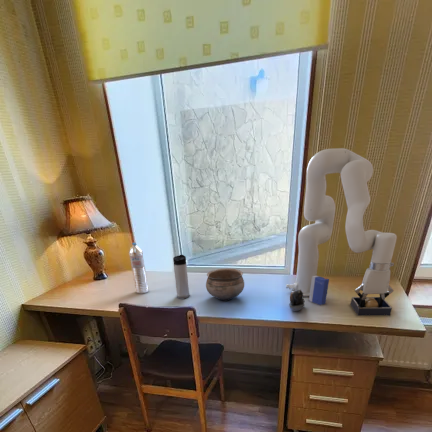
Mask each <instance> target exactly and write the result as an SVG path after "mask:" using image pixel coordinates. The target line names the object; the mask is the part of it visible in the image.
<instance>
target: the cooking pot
mask: <svg viewBox="0 0 432 432" xmlns="http://www.w3.org/2000/svg"><path fill="white" fill-rule="evenodd" d="M243 275H244V272H243V271H242V270H240V269H236V268H217V269H212V270H210V271H208V272H206V276H207V277H206V278H207V279H206V282H205V288H206V291H207V292H208V294H209V295H211V297H214V298H215V299H218V300H220V301H230V300H232V299H234V298H236V297H238V296H239V295H240V294H242V292H243V291H244V289H245V279H244V277H243Z"/></svg>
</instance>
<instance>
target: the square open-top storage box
mask: <svg viewBox="0 0 432 432" xmlns="http://www.w3.org/2000/svg"><path fill="white" fill-rule="evenodd" d="M368 297H369V296H366V297H365V299H366V298H368ZM371 297H372V298H374V299H375V300H376V301H378V298H379V297H380V296H371ZM360 299H361V298H360V297H359V296H352V297H351V299H350V304H349V305H350V306H351V308H352V310H353V311H354V312H355V313H356V316H360V317H361V316H362V317H363V316H364V317H365V316H370V317H371V316H391V312H392V309H393V307H392V306H391V305H390V303H388V301H387V300H386V298H385V299H384V300H383V303H382V306H381V307H364V308H361V307H360V306H359V304H360Z"/></svg>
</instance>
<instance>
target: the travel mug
mask: <svg viewBox="0 0 432 432" xmlns="http://www.w3.org/2000/svg"><path fill="white" fill-rule="evenodd" d="M172 262H173V272H174V280H175V281H174V282H175V288H176V297H177V299H182V300H183V299H188V298H189V297H190V290H189V289H190V288H189V277H188V266H187V256H186V255H185V254H179V255H175V256H174V257H173V258H172Z"/></svg>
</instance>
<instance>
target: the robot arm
mask: <svg viewBox="0 0 432 432" xmlns="http://www.w3.org/2000/svg"><path fill="white" fill-rule="evenodd" d="M329 174H340V181H341V184H342V189H343V193H344V198H345V202H346V207H347V213H346V217H345V224H344V225H345V227H344V230H345V235H346V240H347V244H348V247H349V249H350V250H351V251H352V252H353V253H355V254H360V253H364V252H367V251H370V250H372V253H371V257H370V258H371V259H370V263H369V267H367V268H366V270H365V272H364V275H363V278H362V281H361V284H360V285H359V286H357V287H356V288H355V289H354V292H355V294H356V295H357V297H360V298H361V299H360V304H359V306H360V307H361V308H364V305H365V297H368V295H379V296H378V297H379V298H378V301H377V302H378V307H381V306H382V303H383V300H384V299H385V300H386V298H387V297H388V296H390V295H391V294H392V293H393V292H394V289H393V288H392V287H391V286H390V283H391V282H390V280H391V267H394V265H395V263H394V262H392V259H393V255H394V252H395V248H396V244H397V240H398V236H397V234H396V233H393V232H383V231H379V230H377V229H367V230H365V227H364V215H365V212H366V210H367V208H368V206H369V205H370V203H371V195H370V191H369V186H368V182H369V181H370V180H371V178H372V177H373V174H374V165H373V164H372V162H371V161H370V160H368V159H367V158H365V157H363V156H362V155H360V154H358V153H356V152H354V151H352V150H350V149H348V148H344V147H341V148H340V147H339V148H337V147H336V148H335V147H334V148H332V147H331V148H325V149H322V150H319V151H318V152H316V153H314V155H313V156H312V157H311V159H310V160H309V162H308V164H307V168H306V179H305V180H306V183H305V185H306V186H305V195H304V203H303V216H304V219H305V220H306V221H308V222H314V223H311V224H307V225H304V227H302V228H301V229H300V230H299V232H298V236H297V243H298V254H297V255H298V256H297V268H296V276H295V278H296V279H295V281H294V283H292V284H290V283H289V284H285V288H286V289H288V290H291V293H292V292H295V291H296V290H300V289H301V291H302V293H303V297H310V289H311V282H312V276H316V275H317V273H318V268H319V267H318V266H319V258H320V252H319V247H318V246H319V245H323V244H325V243H327V242H328V241H329V240H330V239H331V237H332V234H333V229H334V224H335V223H334V222H335V215H336V202H335V200H334V198H333V197H332V196H330V195H326V193H327V179H326V175H329ZM317 276H318V275H317ZM360 291H362V292H360Z"/></svg>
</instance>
